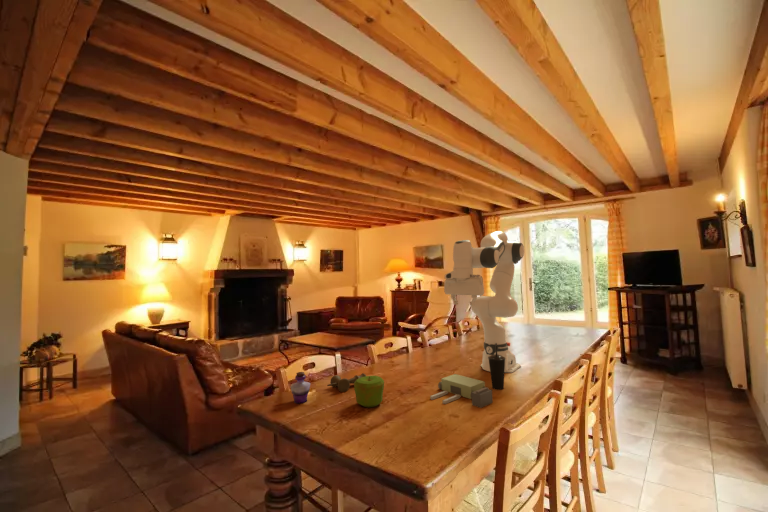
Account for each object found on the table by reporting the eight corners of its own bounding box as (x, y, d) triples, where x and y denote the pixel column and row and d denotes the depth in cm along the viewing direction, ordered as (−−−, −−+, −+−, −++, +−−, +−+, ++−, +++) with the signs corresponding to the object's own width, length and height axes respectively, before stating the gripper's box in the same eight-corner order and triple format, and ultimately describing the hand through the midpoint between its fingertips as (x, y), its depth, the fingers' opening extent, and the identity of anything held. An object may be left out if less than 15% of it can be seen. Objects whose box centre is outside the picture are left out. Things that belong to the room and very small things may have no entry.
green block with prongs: (453, 383, 163) (453, 373, 163) (489, 393, 148) (488, 382, 149) (420, 395, 149) (420, 383, 149) (456, 408, 134) (455, 395, 134)
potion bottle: (314, 398, 148) (314, 370, 149) (305, 406, 140) (304, 376, 141) (296, 397, 151) (296, 369, 151) (286, 404, 142) (285, 374, 143)
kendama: (370, 387, 163) (331, 395, 152) (360, 382, 171) (322, 389, 160) (370, 374, 164) (331, 381, 153) (360, 370, 172) (322, 376, 161)
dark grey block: (484, 400, 142) (483, 385, 142) (492, 402, 139) (491, 388, 139) (472, 405, 137) (471, 390, 137) (480, 408, 134) (480, 393, 134)
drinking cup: (487, 389, 154) (485, 344, 155) (490, 384, 161) (489, 341, 162) (505, 391, 151) (503, 345, 152) (508, 386, 157) (506, 342, 158)
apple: (368, 396, 149) (368, 370, 149) (391, 402, 141) (390, 374, 142) (348, 405, 139) (347, 377, 140) (370, 413, 131) (370, 382, 132)
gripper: (486, 274, 153) (487, 305, 152) (450, 275, 169) (451, 303, 168) (478, 274, 149) (478, 306, 148) (441, 275, 165) (442, 304, 164)
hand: (463, 304), depth 158 cm, fingers open, 8 cm apart
